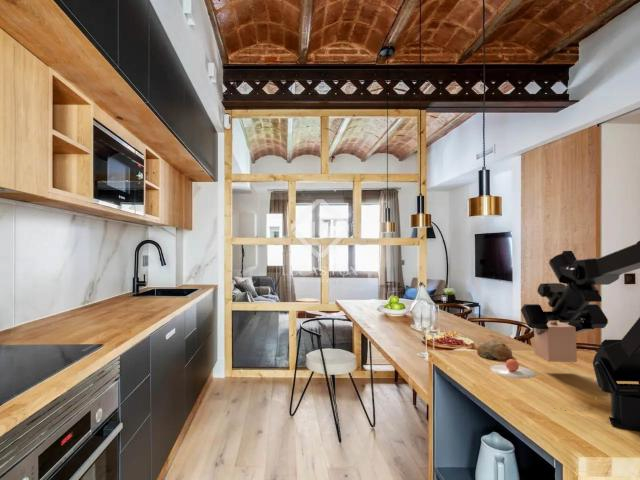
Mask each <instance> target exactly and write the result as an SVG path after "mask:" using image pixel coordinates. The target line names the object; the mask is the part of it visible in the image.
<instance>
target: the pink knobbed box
mask: <svg viewBox="0 0 640 480" xmlns="http://www.w3.org/2000/svg"><path fill="white" fill-rule="evenodd" d="M547 326H548V328H549V329H548V330H546V331H545V332H543V333H542V334H540V335H537V333H536V328H533V334H534V336H533V340H534V354H535V355H536V356H538V357H540V358H542V359H544V360H545V361H546V362H551V363H553V362H557V363H562V362H564V363H569V362H570V363H577V362H578V356H577V351H578V350H577V333H576V327H574V326H571V325H568V323H560V322H559V321H549V322H548V323H547Z"/></svg>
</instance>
